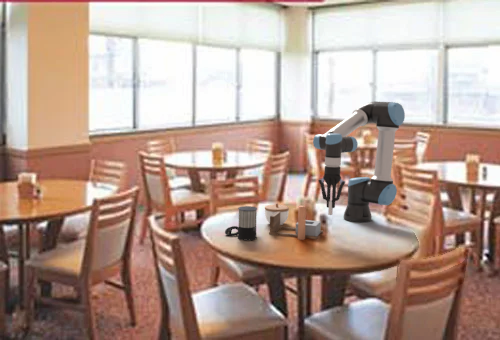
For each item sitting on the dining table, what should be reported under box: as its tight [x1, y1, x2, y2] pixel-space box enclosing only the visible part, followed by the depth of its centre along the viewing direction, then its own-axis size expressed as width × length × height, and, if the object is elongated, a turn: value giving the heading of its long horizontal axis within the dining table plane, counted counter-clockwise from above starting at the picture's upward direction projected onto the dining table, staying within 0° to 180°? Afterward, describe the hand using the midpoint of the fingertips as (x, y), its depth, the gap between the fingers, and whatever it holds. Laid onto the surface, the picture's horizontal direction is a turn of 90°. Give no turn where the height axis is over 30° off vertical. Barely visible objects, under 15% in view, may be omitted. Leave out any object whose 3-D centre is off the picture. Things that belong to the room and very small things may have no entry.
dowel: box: [297, 205, 307, 241], centre depth 290 cm, size 4×4×16 cm
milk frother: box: [224, 205, 258, 241], centre depth 293 cm, size 14×16×15 cm
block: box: [295, 219, 322, 237], centre depth 299 cm, size 10×10×6 cm
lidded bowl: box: [264, 202, 290, 226], centre depth 320 cm, size 13×13×11 cm
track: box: [268, 212, 324, 240], centre depth 301 cm, size 24×13×9 cm, turn 71°
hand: (330, 214), depth 294 cm, fingers closed
